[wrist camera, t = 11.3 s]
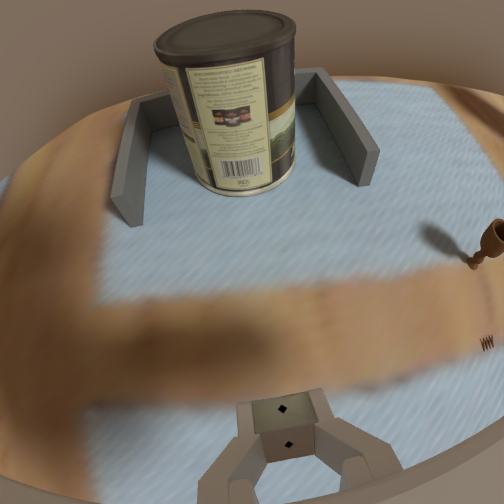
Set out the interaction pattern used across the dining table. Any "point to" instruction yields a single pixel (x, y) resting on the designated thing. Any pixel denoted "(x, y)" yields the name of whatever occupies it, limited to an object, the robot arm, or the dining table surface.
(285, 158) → the coffee can
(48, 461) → the dining table surface
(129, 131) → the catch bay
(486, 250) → the place setting
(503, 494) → the robot arm
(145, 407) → the dining table surface
